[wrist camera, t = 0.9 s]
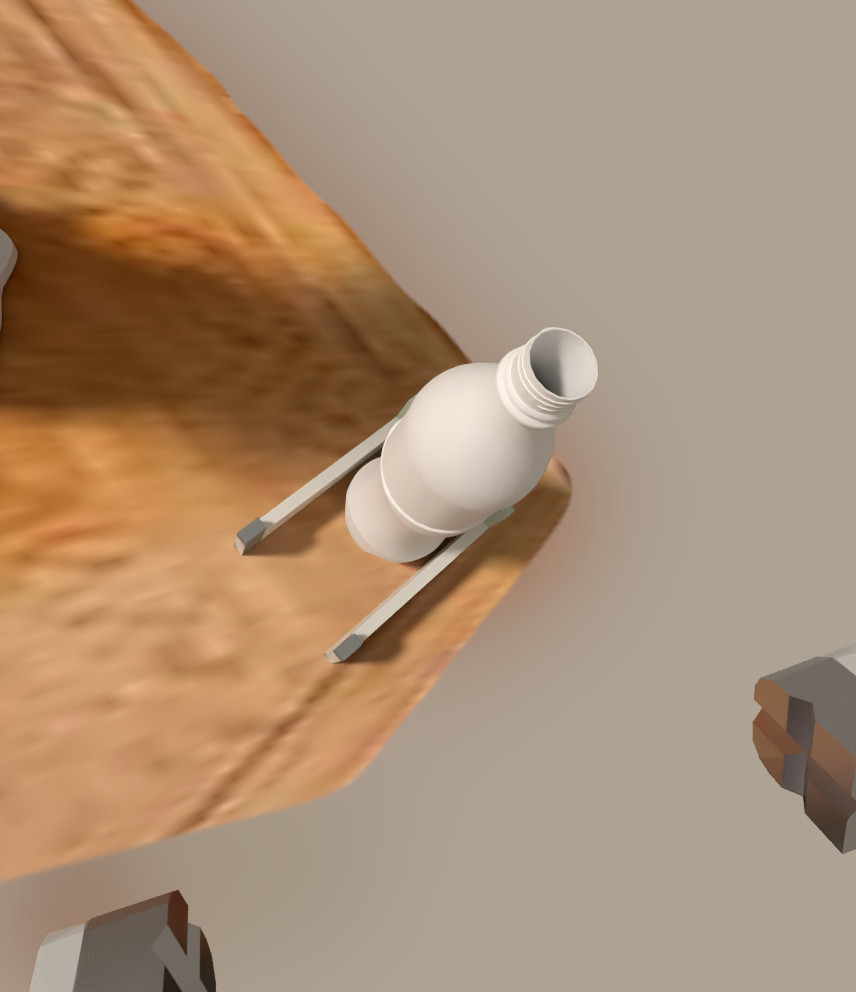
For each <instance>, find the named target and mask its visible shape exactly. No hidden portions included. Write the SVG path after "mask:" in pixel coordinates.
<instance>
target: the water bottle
mask: <svg viewBox="0 0 856 992" xmlns="http://www.w3.org/2000/svg"><path fill="white" fill-rule="evenodd" d="M597 377H598V369H597V361H596V358H595V356H594V354H593V352H592V350H591V348H590V346H589V345H588V344H587V343H586V342H585V341H584V340H583V339H582V338H581V337H580V336H579V335H577V334H575V333H573V332H571V331H570V330H568V329H562V328H557V327H552V328H545V329H543V330H542V331H540V332H539V333H538V334H537V335H535V336H533V337H532V338H531V339H530V340H529V341H528V342H527V343H526V344H525V345H523V346H520V347H518V348H516V349H513V350H512V351H510V352H508V353H507V354H506V355H505V356H504V357H503V358H502V359H501V361H500V362H499V363H470V364H464V365H459V366H456V367H454V368H451V369H449V370H446V371H444V372H443V373H441V374H439V375H438V376H436V377H435V378H433V379H432V380H431V381H430V382H428V383H427V384H426V385H425V386H424V387H423V388H422V389H421V390H420V392H419V393H418V394H417V395H416V397H415V399H414V400H413V402H412V404H411V406H410V409H409V410H408V411H407V413H406V414H405V415H404V417H403V418H401V419H400V420H399V421H398V422H396V423H395V424H394V426H393V427H392V428H391V429H390V431H389V433H388V435H387V437H386V440H385V442H384V445H383V449H382V453H381V457H379V458H376V459H374V460H372V461H370V462H369V463H367V464H366V465H364V466H363V467H362V468H361V469H360V470H359V471H358V472H357V474H356V475H355V476H354V478H353V480H352V481H351V483H350V485H349V488H348V490H347V493H346V506H345V521H346V524H347V527H348V530H349V532H350V534H351V536H352V538H353V539H354V541H355V542H356V543H357V544H358V546H359V547H360V548H361V549H362V550H364V551H366V552H368V553H370V554H373V555H376V556H378V557H381V558H383V559H384V560H386V561H389V562H393V563H405V562H410V561H414V560H417V559H419V558H422V557H425V556H426V555H428V554H430V553H431V552H433V551H434V550H435V549H436V548H437V547H438V546H439V545H440V544H441V543H442V542H443V540H444V539H445V537H452V536H456V535H459V534H462V533H465V532H467V531H469V530H471V529H473V528H474V527H476V526H478V525H479V524H481V523H482V522H483V521H485V520H486V519H487V518H488V517H489V516H490V515H492V514H493V513H495V512H497V511H499V510H501V509H504V508H507V507H509V506H511V505H513V504H515V503H517V502H519V501H520V500H521V499H522V498H524V497H525V496H526V495H527V494H528V493H529V492H530V491H531V490H532V489H533V488H534V487H535V486H536V485H537V483H538V482H539V480H540V479H541V477H542V476H543V474H544V473H545V471H546V469H547V466H548V464H549V462H550V459H551V456H552V451H553V446H554V438H555V427H556V426H559V425H560V424H562V423H563V422H564V421H566V420H567V418H568V417H569V416H570V415H571V413H572V411H573V409H574V408H575V406H576V405H577V404H578V403H579V402H580V401H581V400H582V399H584V398H585V397H587V396H588V394H589V393H590V391H591V390H592V389H593V388H594V386H595V383H596V380H597Z"/></svg>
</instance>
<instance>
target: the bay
mask: <svg viewBox="0 0 856 992" xmlns="http://www.w3.org/2000/svg"><path fill="white" fill-rule="evenodd" d="M417 394H418V393H417ZM417 394H416V395H417ZM416 395H415V396H413V397H412V398H411V399H409V400H408V402H407V403H406V404H405V406H404V407H403V408H402V410H401V411H400V412H399V414H398V415H397V416H396V417H395V418H394V419H392V420H391V421H390V422H388V423H387V424H386V425H384V426H383V427H382V428H380V429H379V430H378V431H376V432H375V433H374V434H372V435H371V436H370V437H368V438H367V439H366V440H364V441H363V442H362V443H360V444H359V445H358V446H356V447H355V448H354V449H352V450H351V451H350V452H348V453H347V454H346V455H344V456H343V457H342V458H340V459H339V460H338V461H336V462H335V463H334V464H332V465H331V466H330V467H328V468H327V469H326V470H324V471H323V472H322V473H320V474H319V475H318V476H316V477H315V478H314V479H312V480H311V481H310V482H308V483H307V484H306V485H304V486H303V487H302V488H300V489H299V490H298V491H296V492H295V493H294V494H292V495H291V496H290V497H288V498H287V499H286V500H284V501H283V502H282V503H280V504H279V505H278V506H276V507H275V508H274V509H272V510H271V511H270V512H268V513H267V514H266V515H264V516H263V517H262V518H260V519H259V518H257V519H255V520H254V521H253V522H251V523H250V524H249V525H247V526H246V527H245V528H243V529H242V530H241V531H239V532H238V534H237V537H236V540H235V543H234V547H235V548H236V549H237V550H238V551H239V553H240V554H241V555H243V554H244V553H245V552H247V551H248V550H249V549H251V548H252V547H253V546H255V545H256V544H257V543H258V542H260V541H261V540H262V539H264V538H265V537H266V536H268V535H269V534H270V533H272V532H273V531H274V530H275V529H277V528H278V527H279V526H281V525H282V524H283V523H285V522H286V521H287V520H289V519H290V518H291V517H292V516H294V515H295V514H296V513H298V512H299V511H300V510H302V509H303V508H304V507H306V506H307V505H308V504H309V503H311V502H312V501H313V500H315V499H316V498H317V497H319V496H320V495H321V494H323V493H324V492H325V491H326V490H328V489H329V488H330V487H332V486H333V485H334V484H336V483H337V482H338V481H340V480H341V479H342V478H343V477H345V476H346V475H347V474H349V473H350V472H351V471H353V470H354V469H355V468H357V467H358V466H359V465H360V464H362V463H363V462H364V461H366V460H367V459H368V458H370V457H371V456H372V455H374V454H375V453H376V452H377V451H379V450H380V449H381V448H383V445H384V442H385V440H386V437H387V435H388V433H389V431H390V429H391V428H392V427H393V426H394V424H395V423H396V422H398V421H399V420H400V419H401V418H403V417H404V415H405V414H406V413H407V411H408V410H409V409H410V406H411V404H412V402H413V400H414V399H415V397H416ZM514 511H515V509H514V508H513V507H512V506H509V507H507V508H504V509H501V510H499V511H497V512H495V513H493V514H492V515H490V516H489V517H488V518H487V519H486V520H485V521H483V522H482V523H481V524H479V525H478V526H476V527H474V528H473V529H471V530H469V531H467V532H465V533H462V534H459V535H457V536H456V537H455V538H454V539H453V540H452V541H451V542H449V543H448V544H447V545H446V546H445V547H444V548H443V549H442V550H440V551H439V552H438V553H437V554H436V555H435V556H434V557H433V558H431V559H430V560H429V561H428V562H427V563H426V564H425V565H423V566H422V567H421V568H420V569H419V570H418V571H417V572H416V573H414V574H413V575H412V576H411V577H410V578H409V579H408V580H407V581H405V582H404V583H403V584H402V585H401V586H400V587H399V588H397V589H396V590H395V591H394V592H393V593H392V594H391V595H390V596H388V597H387V598H386V599H385V600H384V601H383V602H382V603H381V604H379V605H378V606H377V607H376V608H375V609H374V610H373V611H371V612H370V613H369V614H368V615H367V616H366V617H365V618H364V619H362V620H361V621H360V622H359V623H358V624H357V625H356V626H355V627H353V628H352V629H351V630H350V631H349V632H348V633H347V634H345V635H344V636H343V637H342V638H341V639H340V640H339V641H338V642H336V643H335V644H334V645H333V646H332V647H331V648H330V649H329V650H327V651H326V652H325V653H324V655H325V656H326V657H327V658H328V660H329V661H330V662H331V663H336V662H340V661H344V660H346V659H347V658H348V657H349V656H350V655H351V654H352V653H353V652H354V651H356V650H357V649H358V648H359V647H360V646H361V645H362V644H363V643H362V642H363V641H364V640H365V639H366V638H367V637H369V636H370V635H371V634H372V633H373V632H374V631H375V630H376V629H377V628H379V627H380V626H381V625H382V624H383V623H384V622H385V621H386V620H387V619H388V618H390V617H391V616H392V615H393V614H394V613H395V612H396V611H397V610H398V609H400V608H401V607H402V606H403V605H404V604H405V603H406V602H407V601H408V600H410V599H411V598H412V597H413V596H414V595H415V594H416V593H417V592H418V591H420V590H421V589H422V588H423V587H424V586H425V585H426V584H427V583H428V582H430V581H431V580H432V579H433V578H434V577H435V576H436V575H437V574H438V573H439V572H441V571H442V570H443V569H444V568H445V567H446V566H447V565H448V564H449V563H451V562H452V561H453V560H454V559H455V558H456V557H457V556H458V555H459V554H461V553H462V552H463V551H464V550H465V549H466V548H467V547H468V546H469V545H471V544H472V543H473V542H474V541H475V540H476V539H477V538H478V537H479V536H481V535H482V534H483V533H484V532H485V531H486V530H487V529H488V528H490V527H492V526H493V525H495V524H497V523H499V522H501V521H502V520H504V519H506V518H508V517H509V516H510V515H511V514H512V513H513V512H514Z"/></svg>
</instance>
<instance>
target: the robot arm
mask: <svg viewBox="0 0 856 992" xmlns="http://www.w3.org/2000/svg"><path fill="white" fill-rule="evenodd" d="M17 256H18V253H17V249H16V247H15V245H14V244H13V242H12V240H11V239H10V237H9V236H8V235H7V234H6V233H5V232H3V231H2V230H1V229H0V330H1V321H2V305H1V299H2V291H3V287H4V285H5V284H6V282H7V280H8V278H9V276H10V275H11V273H12V271H13V269H14V266H15V264H16V261H17ZM754 700H755V701H756V702H757V703H758V704H759V705H760V706H761V707H762V709H761V711H760V712H759V714H758V715H757V717H756V718H755V720H754V721H753V742H754V744H755V747H756V750H757V752H758V755H759V758H760V760H761V761H762V763H763V765H764V766H765V768H766V769H767V771H768V772H769V774H770V775H771V776H772V777H773V778H774V779H775V780H776V782H777V783H778V784H779V785H780V786H781V787H782V788H784V789H787V790H789V791H792V792H794V793H796V794H799V795H801V796H803V801H804V809H805V814H806V815H807V816H808V817H809V818H810V819H811V820H812V821H813V823H815V825H816V826H817V827H818V828H819V829H820V830H821V831H822V832H823V833H824V834H825V836H826V837H827V838H828V839H829V840H830V841H831V842H832V843H833V844H834V845H835V847H836V848H837V849H838V850H839V851H840V852H841V853H842V854H843V853H846V852H849V851H852V850H854V849H856V645H855V644H854V645H851V646H848V647H845V648H842V649H839V650H837V651H834V652H831V653H828V654H826V655H823V656H821V657H815V658H813V659H810V660H807V661H804V662H802V663H799V664H797V665H794V666H791V667H789V668H786V669H783V670H781V671H778V672H775V673H773V674H770V675H767V676H765V677H762V678H760V679H759V681H758V682H757V684H756V685H755V693H754ZM29 992H216V980H215V973H214V967H213V960H212V955H211V952H210V948H209V945H208V942H207V939H206V937H205V935H204V934H203V932H202V930H201V928H200V927H199V926H196V925H193V924H190V923H188V904H187V903H186V901H185V900H184V898H183V896H182V895H181V893H180V892H179V890H176V891H172V892H169V893H167V894H164V895H161V896H157V897H154V898H151V899H148V900H145V901H142V902H139V903H136V904H133V905H130V906H127V907H124V908H121V909H118V910H115V911H112V912H109V913H106V914H103V915H100V916H97V917H94V918H91V919H88V920H86V921H83V922H80V923H77V924H74V925H71V926H69V927H65V928H63V929H60V930H57V931H54V932H51V933H48V934H47V936H46V938H45V940H44V942H43V943H42V945H41V947H40V949H39V951H38V956H37V960H36V964H35V969H34V973H33V977H32V982H31V987H30V991H29Z"/></svg>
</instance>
